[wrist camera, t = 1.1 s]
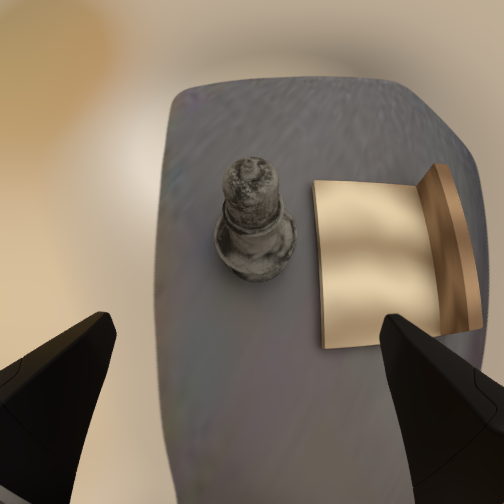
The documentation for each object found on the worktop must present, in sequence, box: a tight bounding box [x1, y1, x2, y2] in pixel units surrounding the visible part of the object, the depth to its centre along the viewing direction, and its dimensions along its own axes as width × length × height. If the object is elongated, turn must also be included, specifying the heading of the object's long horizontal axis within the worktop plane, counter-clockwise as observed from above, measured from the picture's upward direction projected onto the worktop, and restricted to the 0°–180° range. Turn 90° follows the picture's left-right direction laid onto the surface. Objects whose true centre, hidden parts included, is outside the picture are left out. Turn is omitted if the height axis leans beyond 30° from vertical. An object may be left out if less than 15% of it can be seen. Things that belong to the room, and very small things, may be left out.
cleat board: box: [312, 163, 483, 349], centre depth 20 cm, size 14×12×5 cm
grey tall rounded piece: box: [214, 157, 297, 282], centre depth 18 cm, size 6×6×12 cm
